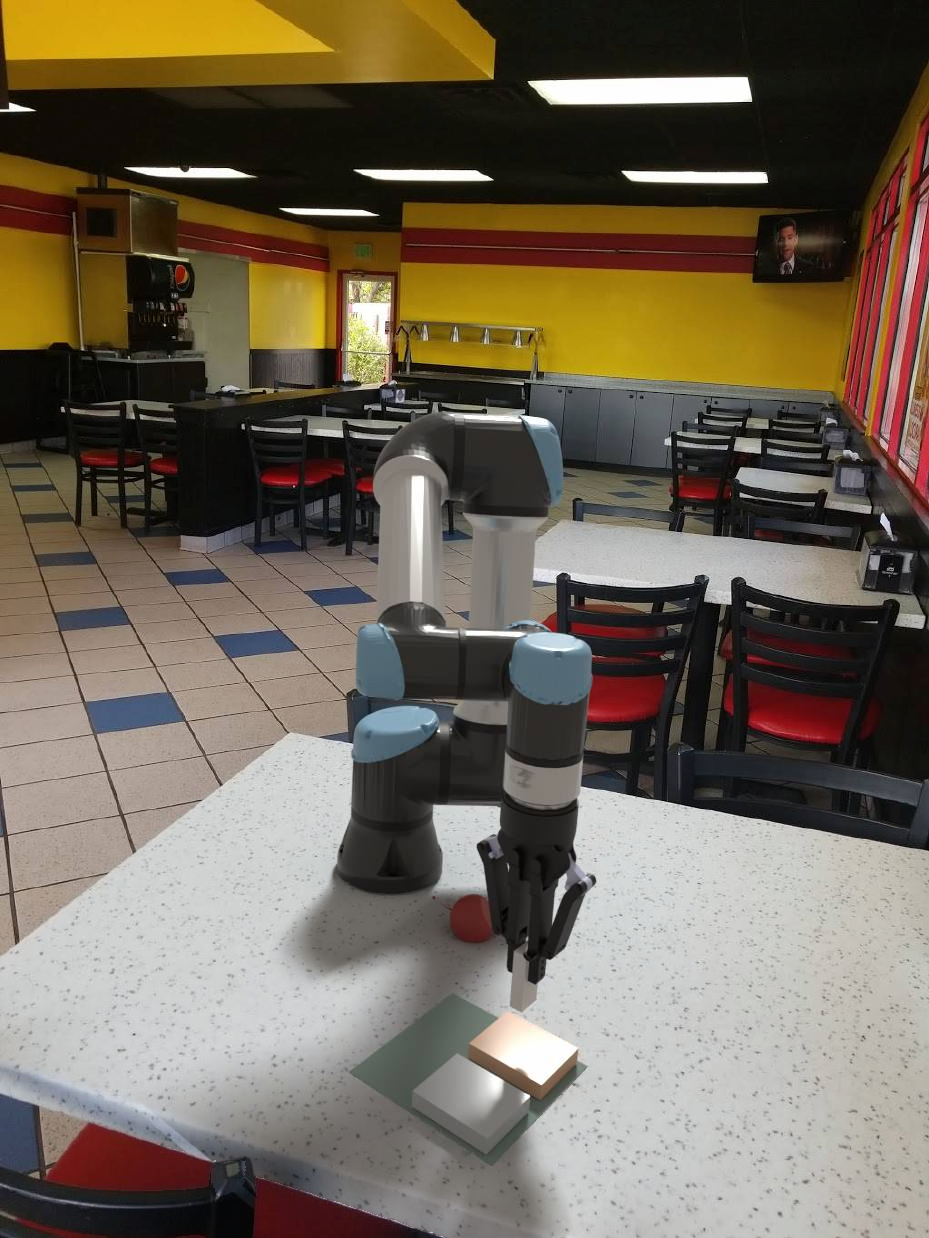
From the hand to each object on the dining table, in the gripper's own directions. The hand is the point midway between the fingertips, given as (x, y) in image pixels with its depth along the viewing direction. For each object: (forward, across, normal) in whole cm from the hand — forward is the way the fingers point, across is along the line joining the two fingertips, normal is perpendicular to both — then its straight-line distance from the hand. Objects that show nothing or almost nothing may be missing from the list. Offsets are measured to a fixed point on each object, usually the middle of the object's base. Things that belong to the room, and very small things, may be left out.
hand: (523, 1002), depth 99 cm
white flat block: (+6, -4, -9) cm, 11 cm away
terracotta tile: (+6, -4, 0) cm, 7 cm away
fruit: (+8, -19, +15) cm, 25 cm away
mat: (+7, -3, -5) cm, 9 cm away
